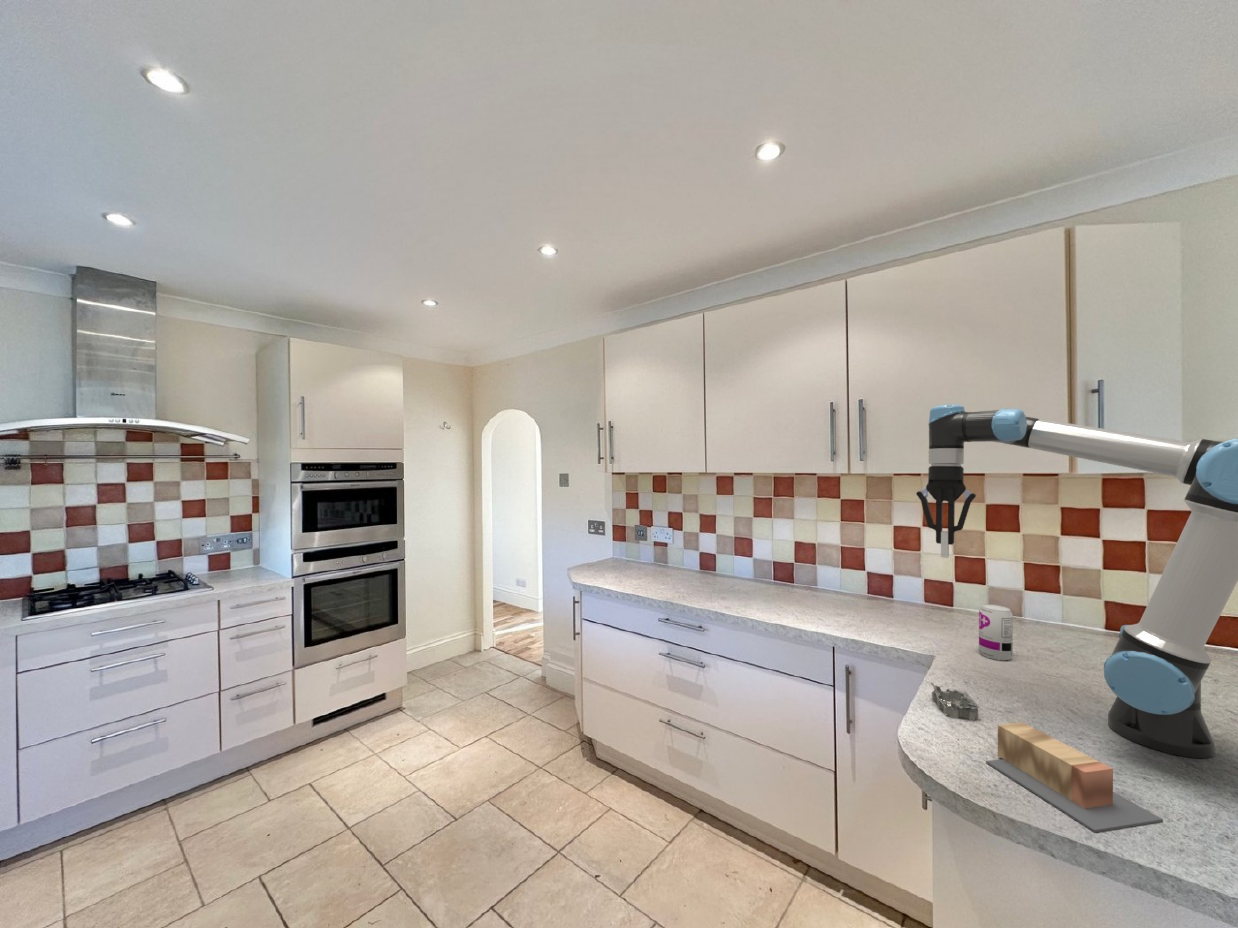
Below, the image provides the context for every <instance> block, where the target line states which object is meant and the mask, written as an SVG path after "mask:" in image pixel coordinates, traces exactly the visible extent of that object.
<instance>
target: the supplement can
mask: <svg viewBox="0 0 1238 928" xmlns="http://www.w3.org/2000/svg"><path fill="white" fill-rule="evenodd" d="M978 615H979V616H978V652H979V653H980V655H982V656H983V655H984V656H983V657H985V656H986V657H985V658H987V657H988V659H990V658H994V659H999V660H998V661H1000V660H1008V661H1010V660H1011V659H1013V647H1014V645H1013V640H1014V638H1013V637H1014V636H1013V632H1014V631H1013V630H1014V624H1013V623H1014V614H1013V613H1012V611H1011V608H1009V607H1007V606H1002V605H998V604H990V603H989V604H988V603H987V604H981V606H980V608H979V609H978ZM994 659H993V660H994ZM1009 659H1010V660H1009Z"/></svg>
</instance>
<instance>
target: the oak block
mask: <svg viewBox="0 0 1238 928" xmlns="http://www.w3.org/2000/svg"><path fill="white" fill-rule="evenodd" d="M997 756H998V757H999V758H1001V759H1004V760H1006V761H1007V762H1009V763H1011V764H1012V765H1014V766H1016V767H1017V768H1019V769H1020V770H1022V771H1024V772H1025V773H1027V774H1029V775H1030V776H1032V777H1034V778H1035V779H1037V780H1039V781H1040V782H1042V783H1043V784H1045V785H1047V786H1048V787H1050V788H1052V789H1053V790H1055V791H1057V792H1058V793H1060V794H1061V795H1063V796H1065V797H1066V798H1068V799H1070V800H1071V801H1073V802H1075V803H1076V804H1078V805H1079V806H1081V807H1083V808H1084V809H1086V808H1092V807H1099V806H1106V805H1112V804H1113V792H1114V768H1112V767H1111V766H1109V765H1107V764H1105V763H1103V762H1101V761H1099V760H1096V759H1095V758H1093V757H1092V756H1089V755H1087V754H1086V753H1084V752H1081V751H1080V750H1077V749H1075V748H1074V747H1072V746H1070V745H1068V744H1066V743H1064V742H1062V741H1060V740H1058V739H1056V738H1054V737H1052V736H1051V735H1048V734H1046V733H1044V732H1043V731H1041V730H1039V729H1036V728H1034V727H1032V726H1031V725H1029V724H1027V723H1025V722H1015V723H1014V722H1013V723H1004V724H997Z"/></svg>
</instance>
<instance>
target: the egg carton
mask: <svg viewBox="0 0 1238 928" xmlns="http://www.w3.org/2000/svg"><path fill="white" fill-rule="evenodd" d="M930 685H932V687H933V690H932V691H931V700H932V702H934V701H935V702H934V703H937V704H936V706H937V705H938V706H939V707H940V708H939V707H938V706H937V707H938V708H939V709H941V708H943V709H942V710H943V712H944V713H945V714H947V715H949V716H948V717H950V716H951V717H950V718H952V719H955V718H956V719H957V720H958V719H959V718H964V719H967V720H968V719H969V721H973V722H974V721H975V720H979V708H981V706H979V704H978V703H977V702H976V701H975V700H974V699H973V698H972V697H971V696H970V695H969V694H968V693H969V692H967V691H964V690H963V691H962V690H957V689H953V690H951V689H949V688H946V690H944V691H942V689H941V686H939V685H935V684H934V683H933V682H931V683H930ZM941 699H942V700H941ZM950 699H951V700H950ZM943 700H945V701H943ZM947 704H951V706H948V705H947ZM944 713H943V714H944ZM945 714H944V715H945ZM947 715H946V716H947ZM956 719H955V720H956Z"/></svg>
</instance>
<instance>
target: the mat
mask: <svg viewBox="0 0 1238 928" xmlns="http://www.w3.org/2000/svg"><path fill="white" fill-rule="evenodd" d="M985 763H986V764H987V765H988V766H990V767H991V768H993V769H994V770H996V771H998V772H999V773H1001V774H1002V775H1004V776H1005V777H1007V778H1009V779H1010V780H1011V781H1014V782H1015V783H1016V784H1018V785H1019V786H1021V787H1023V788H1024V789H1026V790H1027V791H1029V792H1030V793H1032V794H1034V795H1035V796H1037V797H1038V798H1039V799H1041V800H1042V801H1044V802H1046V803H1047V804H1049V805H1051V806H1052V807H1054V808H1055V809H1056V810H1058V811H1060V812H1061V813H1063V814H1064V815H1067V816H1068V817H1069V818H1070V819H1072V820H1074V821H1076V822H1077V823H1078V824H1080V825H1082V826H1084V827H1085V828H1086V829H1088V830H1090V831H1091V832H1092V833H1095V834H1096V833H1101V832H1106V831H1107V832H1108V831H1113V830H1118V829H1120V828H1121V829H1126V828H1125V827H1127V828H1130V827H1129V826H1133V827H1138V825H1139V826H1145V825H1150V824H1151V825H1152V824H1157V823H1163V822H1164V819H1163V818H1161V817H1159V816H1158V815H1156V814H1154V813H1152V812H1151V811H1149V810H1147V809H1146V808H1143V807H1142V806H1140V805H1138V804H1136V803H1134V802H1133V801H1130V800H1129V799H1127V798H1126V797H1124V796H1121V795H1120V794H1118V793H1116V792H1114V791H1113V804H1112V805H1106V806H1099V807H1092V808H1086V809H1084V808H1083V807H1081V806H1079V805H1078V804H1076V803H1075V802H1073V801H1071V800H1070V799H1068V798H1066V797H1065V796H1063V795H1061V794H1060V793H1058V792H1057V791H1055V790H1053V789H1052V788H1050V787H1048V786H1047V785H1045V784H1043V783H1042V782H1040V781H1039V780H1037V779H1035V778H1034V777H1032V776H1030V775H1029V774H1027V773H1025V772H1024V771H1022V770H1020V769H1019V768H1017V767H1016V766H1014V765H1012V764H1011V763H1009V762H1007V761H1006V760H1004V759H1002V758H1001V759H992V760H985Z"/></svg>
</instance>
